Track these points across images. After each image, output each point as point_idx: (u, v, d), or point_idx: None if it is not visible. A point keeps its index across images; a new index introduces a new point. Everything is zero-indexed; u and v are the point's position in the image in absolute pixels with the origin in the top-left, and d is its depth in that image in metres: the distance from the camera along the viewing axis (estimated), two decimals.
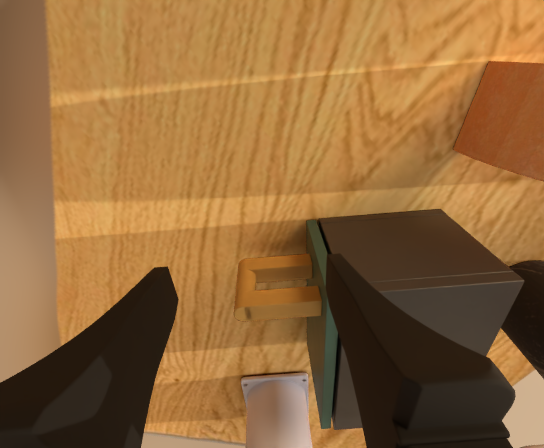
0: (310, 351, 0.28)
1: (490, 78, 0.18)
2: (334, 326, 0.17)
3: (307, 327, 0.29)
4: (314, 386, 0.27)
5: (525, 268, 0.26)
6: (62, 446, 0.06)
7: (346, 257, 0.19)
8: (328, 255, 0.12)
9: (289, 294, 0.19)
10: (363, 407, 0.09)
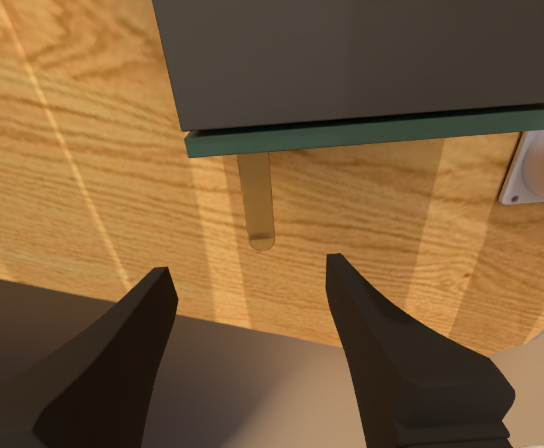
0: None
1: None
2: (256, 139, 0.11)
3: None
4: None
5: None
6: (62, 446, 0.06)
7: None
8: (328, 255, 0.12)
9: None
10: (363, 407, 0.09)
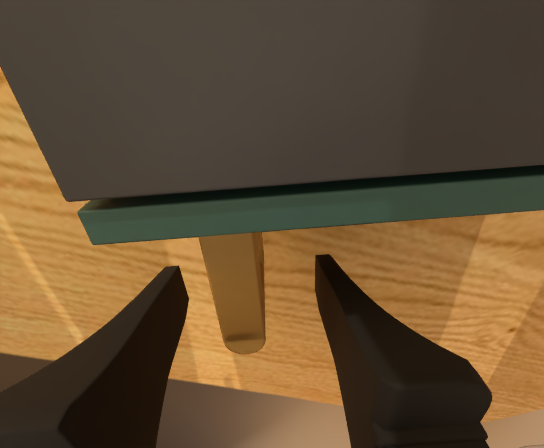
0: None
1: None
2: (221, 213, 0.06)
3: None
4: None
5: None
6: (85, 444, 0.06)
7: None
8: (317, 256, 0.12)
9: None
10: (348, 408, 0.09)
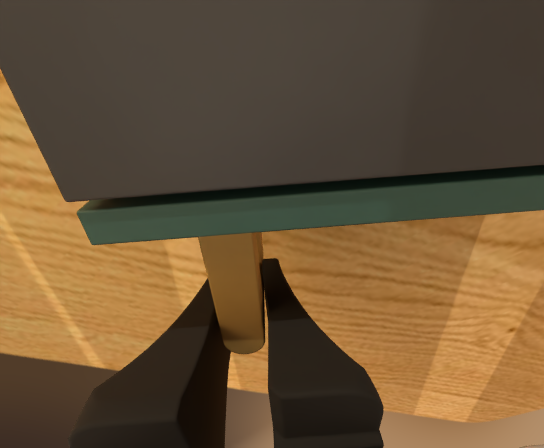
0: None
1: None
2: (220, 213, 0.06)
3: None
4: None
5: None
6: (189, 436, 0.06)
7: None
8: (263, 260, 0.12)
9: None
10: None
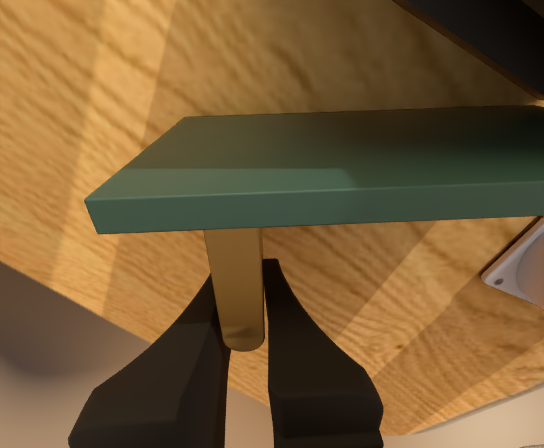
0: None
1: None
2: (231, 206, 0.05)
3: None
4: None
5: None
6: (189, 436, 0.06)
7: None
8: (263, 260, 0.12)
9: None
10: None
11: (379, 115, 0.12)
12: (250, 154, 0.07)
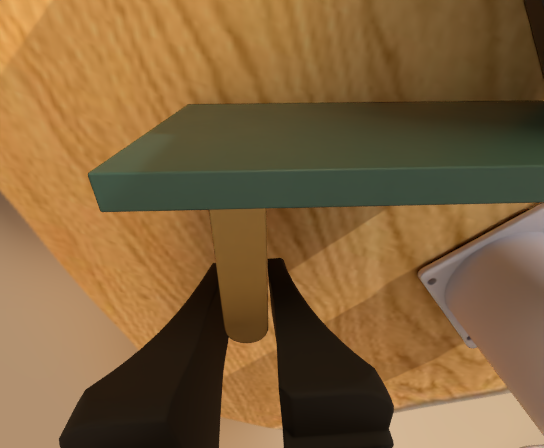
0: None
1: None
2: (242, 184, 0.05)
3: None
4: None
5: None
6: (181, 437, 0.06)
7: None
8: (268, 260, 0.12)
9: None
10: None
11: (387, 106, 0.11)
12: (258, 137, 0.07)
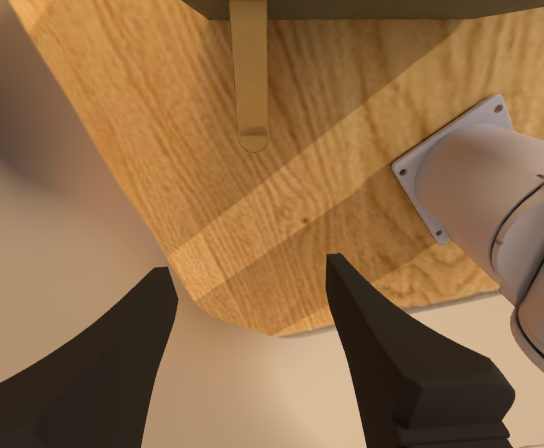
0: (465, 13, 0.15)
1: None
2: None
3: (425, 18, 0.16)
4: (538, 6, 0.13)
5: None
6: (62, 446, 0.06)
7: None
8: (328, 255, 0.12)
9: None
10: (363, 407, 0.09)
11: None
12: None
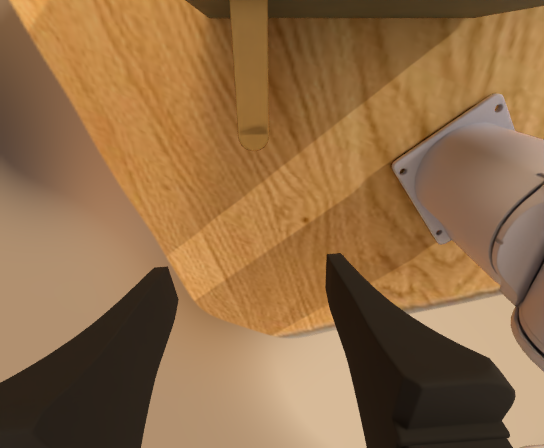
0: (466, 12, 0.15)
1: None
2: None
3: (426, 17, 0.16)
4: (539, 5, 0.13)
5: None
6: (62, 446, 0.06)
7: None
8: (328, 255, 0.12)
9: None
10: (363, 407, 0.09)
11: None
12: None
